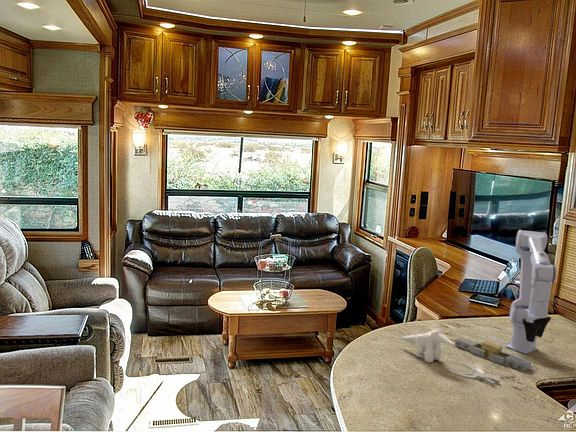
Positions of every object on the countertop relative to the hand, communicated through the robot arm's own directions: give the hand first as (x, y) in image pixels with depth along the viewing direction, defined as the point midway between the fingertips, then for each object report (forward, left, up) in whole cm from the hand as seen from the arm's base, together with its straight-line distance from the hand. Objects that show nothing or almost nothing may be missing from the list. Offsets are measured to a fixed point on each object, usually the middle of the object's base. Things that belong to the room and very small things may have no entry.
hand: (534, 338), depth 175 cm
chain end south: (+4, -19, -10) cm, 22 cm away
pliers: (+24, -7, -10) cm, 27 cm away
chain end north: (+4, -5, -10) cm, 12 cm away
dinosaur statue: (+26, -25, -10) cm, 37 cm away
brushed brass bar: (+4, -12, -10) cm, 16 cm away
